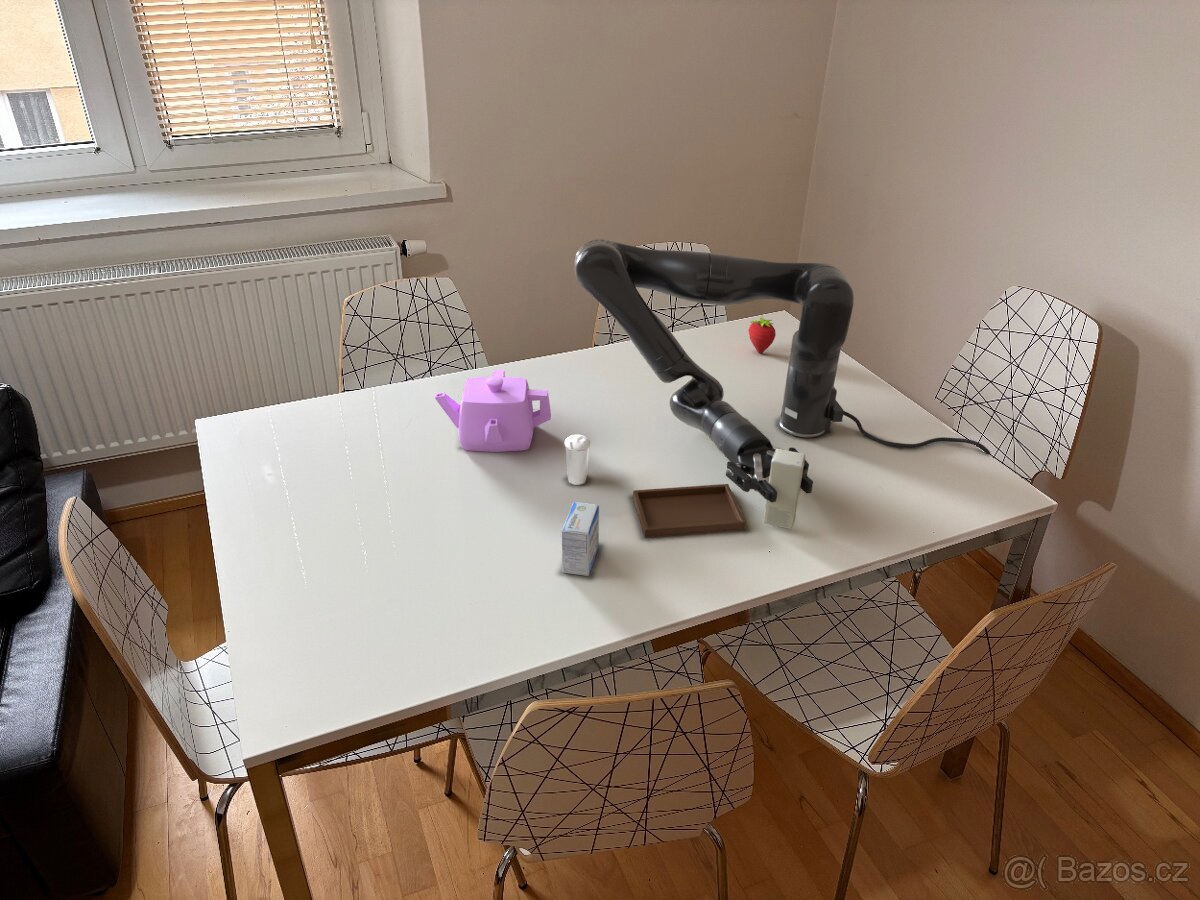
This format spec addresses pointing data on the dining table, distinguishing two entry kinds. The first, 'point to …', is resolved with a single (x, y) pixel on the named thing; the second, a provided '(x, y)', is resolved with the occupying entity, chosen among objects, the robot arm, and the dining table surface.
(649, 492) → the tray
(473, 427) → the teakettle
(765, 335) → the strawberry
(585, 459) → the milkshake
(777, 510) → the box
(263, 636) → the dining table surface
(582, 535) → the medicine box
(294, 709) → the dining table surface
